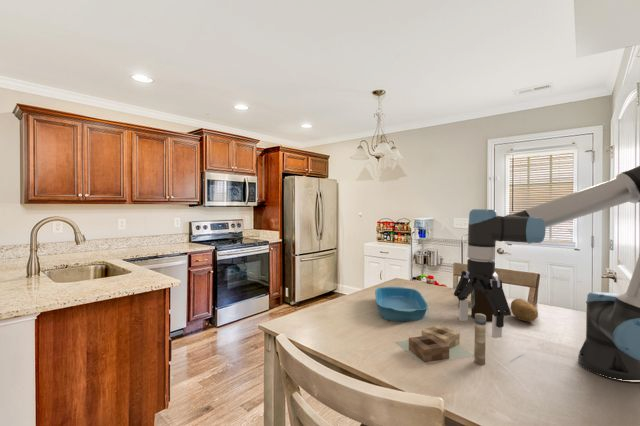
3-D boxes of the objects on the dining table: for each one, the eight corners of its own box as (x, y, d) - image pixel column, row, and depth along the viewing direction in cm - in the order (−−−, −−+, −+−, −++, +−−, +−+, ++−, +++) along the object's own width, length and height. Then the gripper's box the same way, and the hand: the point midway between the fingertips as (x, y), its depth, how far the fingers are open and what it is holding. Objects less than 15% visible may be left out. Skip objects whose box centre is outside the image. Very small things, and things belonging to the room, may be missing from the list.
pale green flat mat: (475, 359, 101) (475, 355, 101) (421, 367, 96) (421, 364, 96) (443, 338, 116) (443, 335, 116) (395, 345, 111) (395, 341, 111)
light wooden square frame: (459, 344, 109) (459, 332, 109) (444, 351, 104) (444, 339, 104) (436, 335, 117) (436, 324, 116) (421, 341, 111) (421, 330, 111)
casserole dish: (432, 327, 128) (432, 310, 127) (377, 325, 131) (377, 308, 130) (417, 300, 164) (417, 286, 164) (374, 298, 167) (374, 285, 167)
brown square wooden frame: (449, 358, 99) (449, 346, 99) (424, 362, 97) (424, 349, 96) (431, 346, 108) (432, 334, 107) (408, 349, 105) (408, 337, 105)
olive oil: (495, 315, 141) (496, 260, 140) (498, 323, 131) (499, 264, 130) (469, 312, 145) (470, 258, 144) (470, 320, 135) (470, 262, 135)
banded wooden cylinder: (487, 368, 96) (488, 316, 95) (479, 369, 95) (480, 317, 94) (479, 363, 99) (480, 312, 98) (471, 364, 98) (472, 313, 97)
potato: (518, 325, 130) (518, 306, 129) (505, 313, 143) (505, 296, 143) (544, 327, 128) (545, 307, 127) (529, 315, 141) (529, 297, 141)
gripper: (527, 267, 85) (524, 344, 85) (462, 252, 109) (460, 313, 109) (505, 268, 83) (502, 347, 83) (444, 253, 107) (442, 314, 107)
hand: (478, 328), depth 96 cm, fingers open, 13 cm apart
